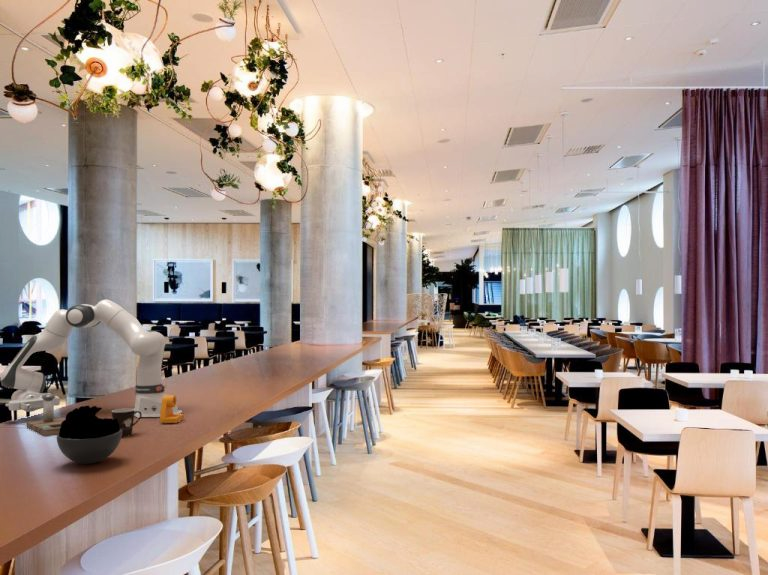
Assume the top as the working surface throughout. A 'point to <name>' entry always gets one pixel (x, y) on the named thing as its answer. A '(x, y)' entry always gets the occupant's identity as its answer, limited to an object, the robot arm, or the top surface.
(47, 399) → the glass spice jar
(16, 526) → the top surface
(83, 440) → the bowl of black rocks
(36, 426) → the hole board
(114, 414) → the coffee mug
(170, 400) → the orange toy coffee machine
